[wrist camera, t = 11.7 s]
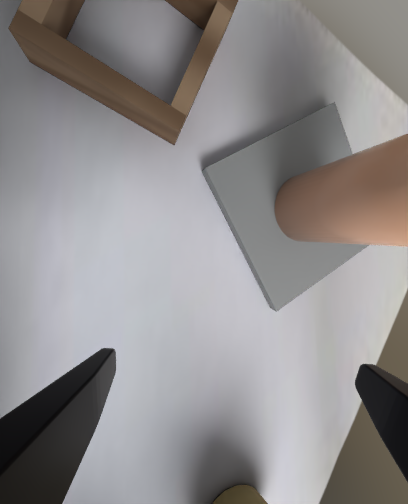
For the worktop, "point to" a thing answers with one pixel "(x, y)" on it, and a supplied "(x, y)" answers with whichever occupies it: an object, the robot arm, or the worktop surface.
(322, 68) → the worktop surface
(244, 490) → the squeeze bottle
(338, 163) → the tan piece
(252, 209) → the pad
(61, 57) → the collar
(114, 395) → the worktop surface
